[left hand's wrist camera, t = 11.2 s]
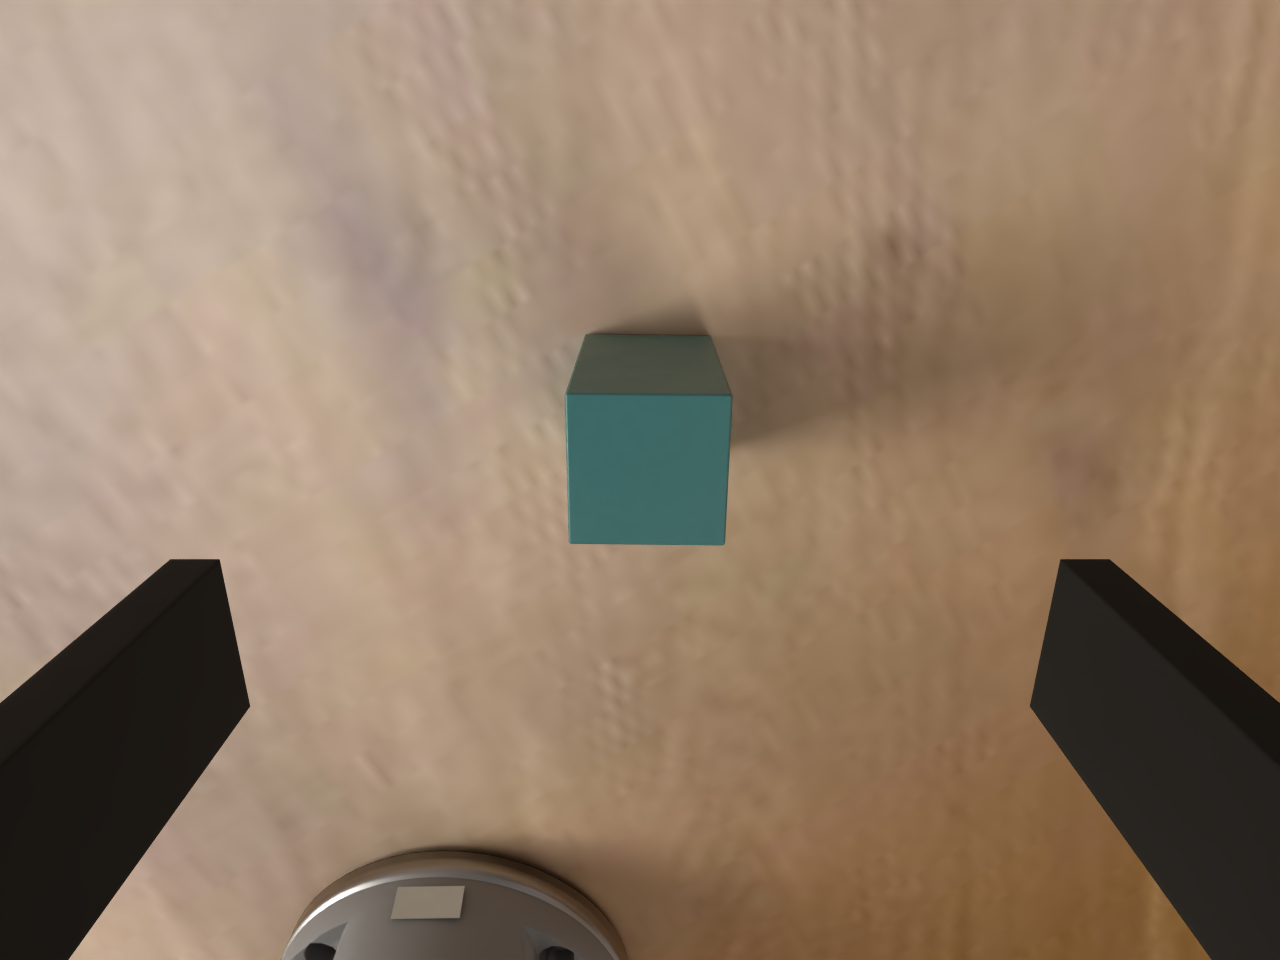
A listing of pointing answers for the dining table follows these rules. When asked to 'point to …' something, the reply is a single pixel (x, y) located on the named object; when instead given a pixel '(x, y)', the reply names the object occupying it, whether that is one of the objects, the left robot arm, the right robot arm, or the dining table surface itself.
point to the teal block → (647, 441)
